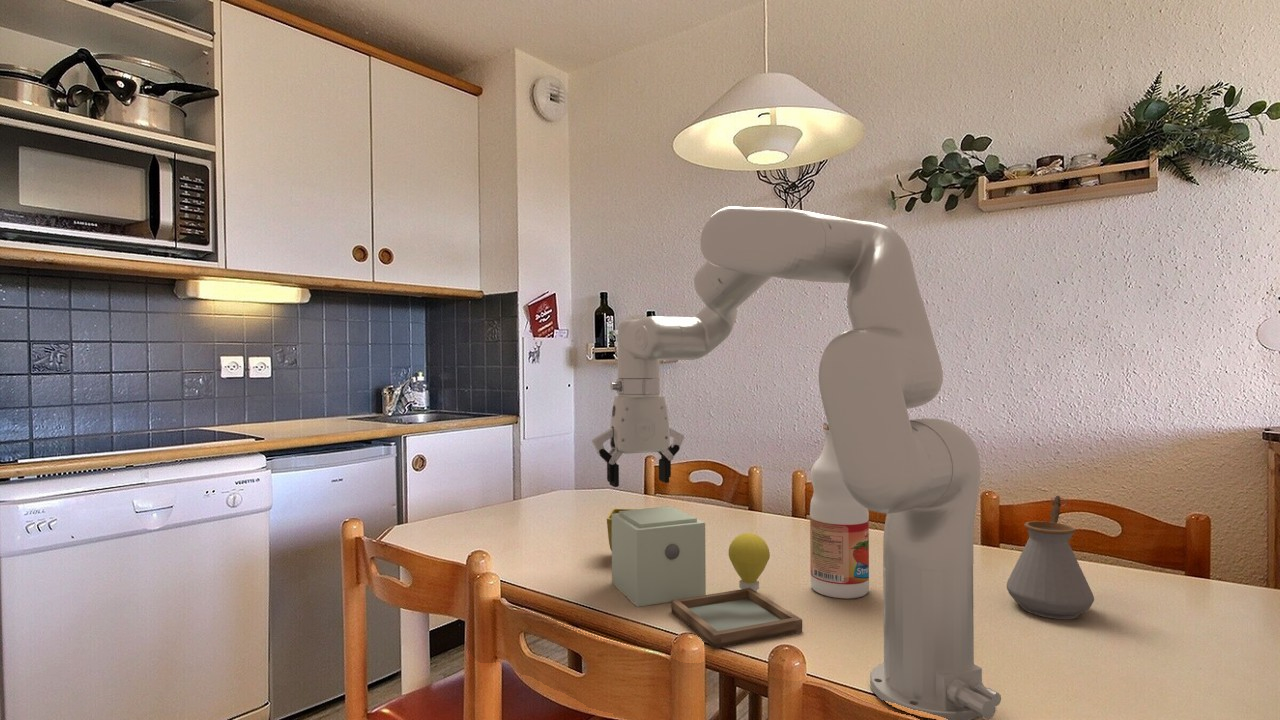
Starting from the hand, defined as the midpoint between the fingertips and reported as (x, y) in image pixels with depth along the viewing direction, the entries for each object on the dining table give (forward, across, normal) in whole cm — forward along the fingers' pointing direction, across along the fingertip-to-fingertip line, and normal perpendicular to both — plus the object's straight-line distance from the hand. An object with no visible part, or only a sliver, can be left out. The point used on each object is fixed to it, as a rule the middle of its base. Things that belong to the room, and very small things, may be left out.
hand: (639, 483), depth 119 cm
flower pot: (+17, +2, +9) cm, 19 cm away
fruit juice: (+17, +28, -20) cm, 38 cm away
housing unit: (+16, 0, -8) cm, 18 cm away
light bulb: (+17, +13, -16) cm, 26 cm away
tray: (+16, +5, -25) cm, 30 cm away
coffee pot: (+17, +56, -37) cm, 69 cm away
